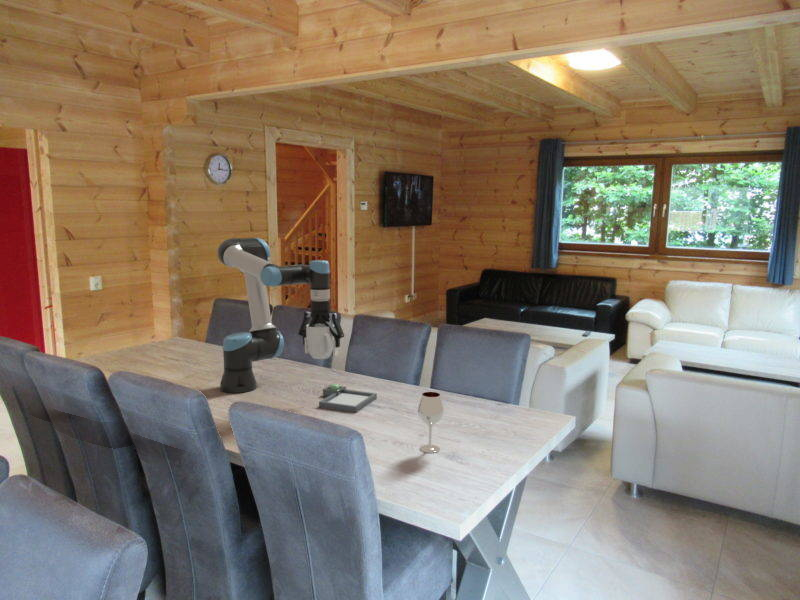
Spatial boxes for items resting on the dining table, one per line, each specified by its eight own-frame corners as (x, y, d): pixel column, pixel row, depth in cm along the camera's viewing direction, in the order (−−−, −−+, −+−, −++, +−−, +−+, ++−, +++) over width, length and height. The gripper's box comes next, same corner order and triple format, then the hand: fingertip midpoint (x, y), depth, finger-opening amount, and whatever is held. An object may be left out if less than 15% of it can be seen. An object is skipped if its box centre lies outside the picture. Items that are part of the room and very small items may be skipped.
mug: (343, 360, 226) (343, 327, 225) (317, 363, 220) (316, 329, 219) (327, 353, 239) (327, 322, 237) (302, 356, 233) (301, 324, 231)
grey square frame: (322, 396, 240) (322, 389, 240) (331, 391, 246) (331, 384, 246) (338, 398, 237) (338, 391, 237) (345, 393, 244) (345, 386, 243)
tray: (319, 407, 226) (318, 401, 226) (341, 393, 243) (341, 388, 243) (356, 412, 220) (356, 407, 220) (376, 398, 238) (376, 393, 237)
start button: (327, 391, 241) (327, 385, 240) (332, 388, 244) (332, 383, 244) (336, 392, 239) (336, 387, 239) (341, 389, 243) (341, 384, 242)
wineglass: (415, 444, 190) (416, 390, 187) (440, 444, 190) (441, 390, 188) (418, 454, 182) (419, 398, 179) (444, 453, 182) (446, 398, 180)
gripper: (288, 299, 229) (290, 353, 232) (343, 302, 220) (344, 358, 222) (299, 297, 236) (300, 350, 238) (352, 300, 226) (353, 354, 229)
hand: (321, 354), depth 230 cm, fingers closed on mug, 12 cm apart
